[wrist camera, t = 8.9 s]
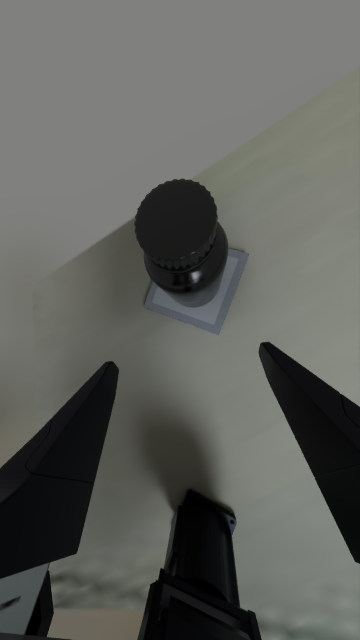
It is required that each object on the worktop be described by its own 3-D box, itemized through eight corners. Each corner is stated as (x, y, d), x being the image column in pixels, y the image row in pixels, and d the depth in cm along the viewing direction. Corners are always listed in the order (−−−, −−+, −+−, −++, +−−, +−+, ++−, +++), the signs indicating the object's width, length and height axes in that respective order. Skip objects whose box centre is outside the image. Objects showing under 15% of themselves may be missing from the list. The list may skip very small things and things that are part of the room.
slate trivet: (247, 256, 20) (249, 253, 19) (218, 334, 20) (218, 335, 19) (171, 236, 22) (170, 232, 21) (145, 307, 22) (143, 306, 21)
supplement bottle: (229, 269, 19) (264, 179, 7) (205, 316, 20) (203, 302, 8) (182, 249, 20) (148, 146, 9) (160, 295, 21) (99, 254, 9)
